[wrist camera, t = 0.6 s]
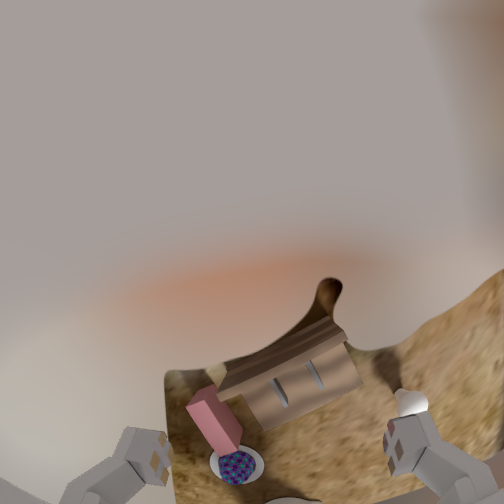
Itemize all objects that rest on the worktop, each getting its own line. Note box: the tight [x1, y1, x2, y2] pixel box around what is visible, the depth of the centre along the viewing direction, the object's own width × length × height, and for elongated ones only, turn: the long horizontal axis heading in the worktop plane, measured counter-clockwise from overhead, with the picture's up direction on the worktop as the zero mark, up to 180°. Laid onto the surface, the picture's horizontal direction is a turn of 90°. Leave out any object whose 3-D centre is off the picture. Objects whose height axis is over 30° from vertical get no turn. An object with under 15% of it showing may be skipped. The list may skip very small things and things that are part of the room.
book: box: [186, 383, 243, 457], centre depth 53 cm, size 12×4×9 cm, turn 28°
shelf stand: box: [216, 315, 363, 432], centre depth 50 cm, size 16×22×13 cm
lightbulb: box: [395, 388, 428, 417], centre depth 49 cm, size 6×6×11 cm
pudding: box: [210, 445, 264, 485], centre depth 53 cm, size 12×12×5 cm
